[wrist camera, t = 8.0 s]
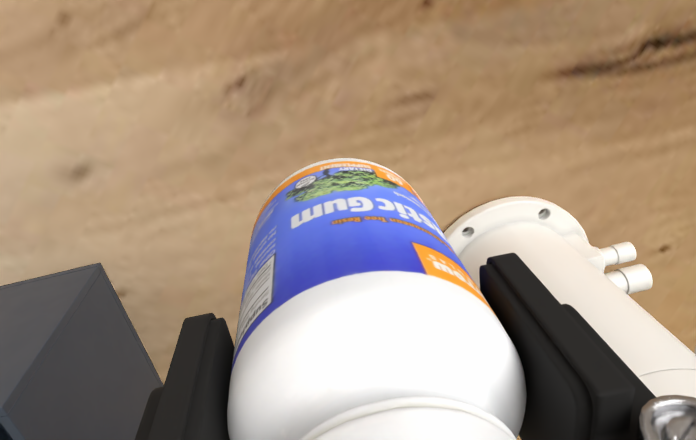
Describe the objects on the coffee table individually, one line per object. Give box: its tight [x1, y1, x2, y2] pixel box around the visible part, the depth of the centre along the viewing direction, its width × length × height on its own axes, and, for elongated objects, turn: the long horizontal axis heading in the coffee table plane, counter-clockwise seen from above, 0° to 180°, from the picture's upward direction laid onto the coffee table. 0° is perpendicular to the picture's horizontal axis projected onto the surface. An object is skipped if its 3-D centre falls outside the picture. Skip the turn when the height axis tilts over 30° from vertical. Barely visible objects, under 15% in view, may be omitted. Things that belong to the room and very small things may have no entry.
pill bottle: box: [227, 158, 527, 440], centre depth 10 cm, size 5×5×10 cm
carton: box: [0, 263, 164, 440], centre depth 29 cm, size 13×13×12 cm
